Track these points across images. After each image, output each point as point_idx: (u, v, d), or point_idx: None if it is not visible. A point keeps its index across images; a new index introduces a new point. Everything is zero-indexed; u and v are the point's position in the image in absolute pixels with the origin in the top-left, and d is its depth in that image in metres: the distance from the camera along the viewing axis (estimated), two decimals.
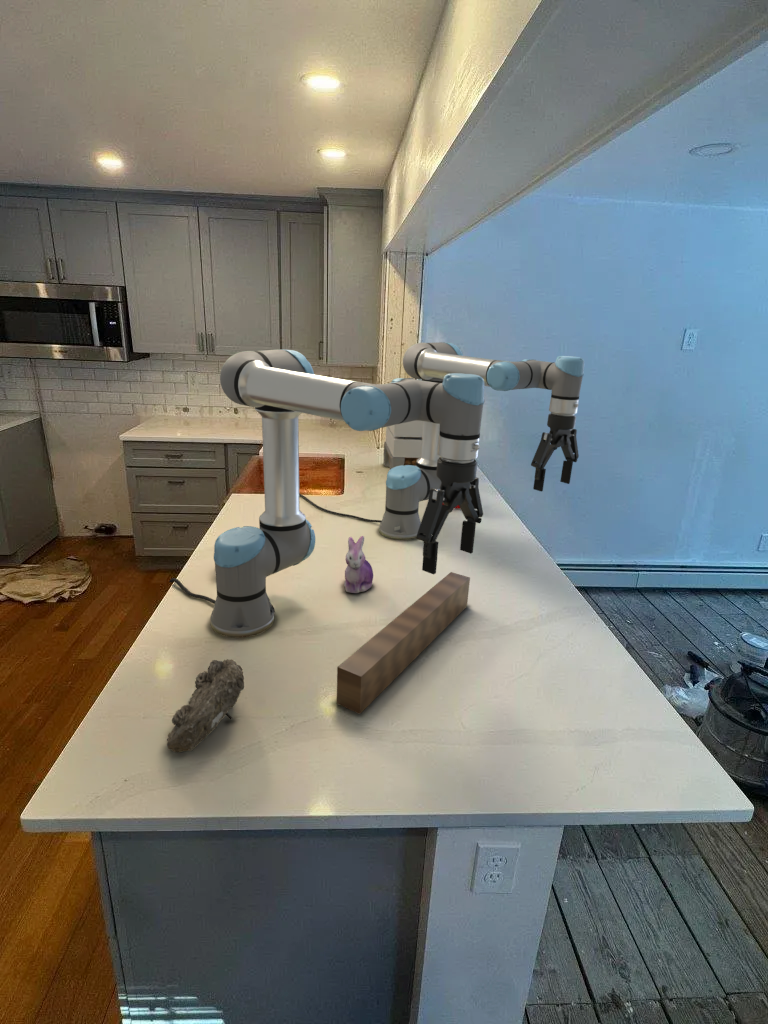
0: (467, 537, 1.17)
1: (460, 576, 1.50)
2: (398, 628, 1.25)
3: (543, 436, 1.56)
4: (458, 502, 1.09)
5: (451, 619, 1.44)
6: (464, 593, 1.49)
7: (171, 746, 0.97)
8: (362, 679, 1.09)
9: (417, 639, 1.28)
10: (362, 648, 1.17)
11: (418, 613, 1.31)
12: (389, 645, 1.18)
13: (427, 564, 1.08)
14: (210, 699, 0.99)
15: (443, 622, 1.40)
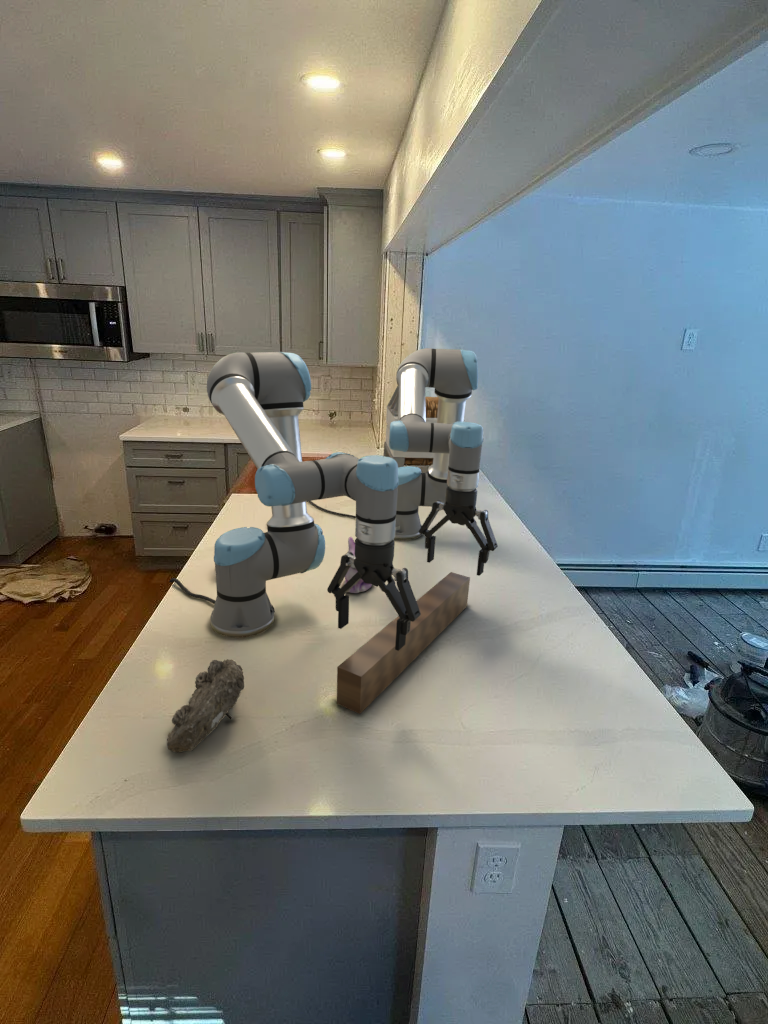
0: None
1: (460, 576, 1.50)
2: None
3: None
4: (369, 581, 1.09)
5: (451, 619, 1.44)
6: (464, 593, 1.49)
7: (171, 746, 0.97)
8: (362, 679, 1.09)
9: (417, 639, 1.28)
10: (362, 648, 1.17)
11: None
12: (389, 645, 1.18)
13: None
14: (210, 699, 0.99)
15: (443, 622, 1.40)
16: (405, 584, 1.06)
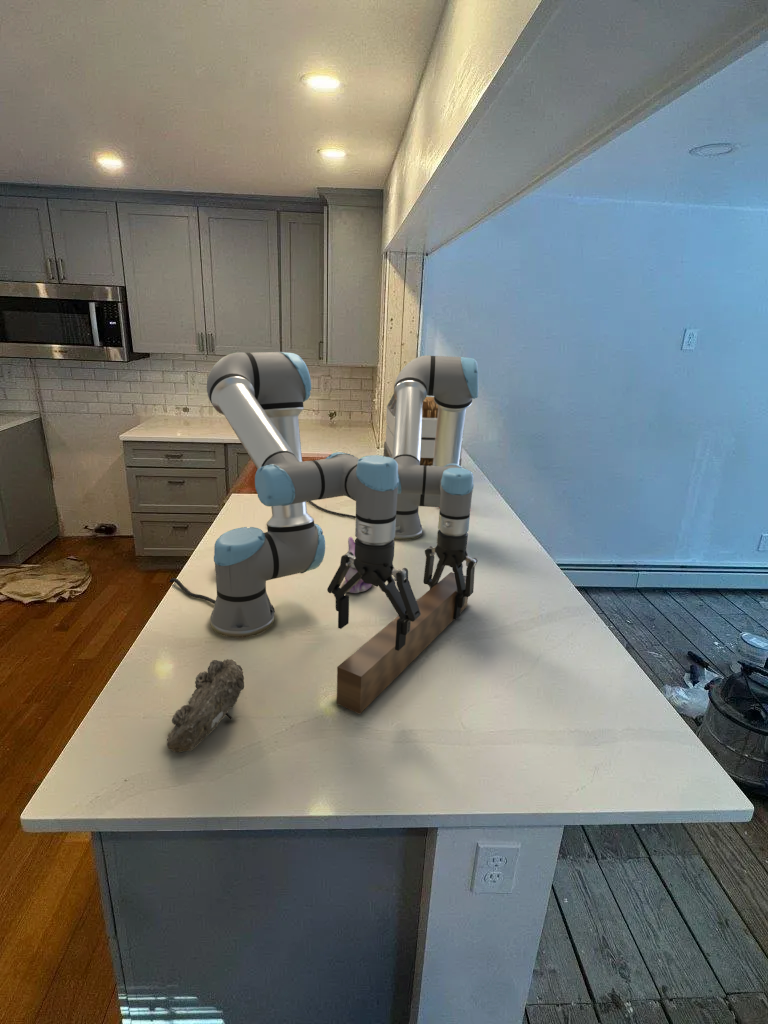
0: None
1: None
2: None
3: None
4: (369, 581, 1.09)
5: (451, 619, 1.44)
6: None
7: (171, 746, 0.97)
8: (362, 679, 1.09)
9: (417, 639, 1.28)
10: (362, 648, 1.17)
11: None
12: (389, 645, 1.18)
13: None
14: (210, 699, 0.99)
15: (443, 622, 1.40)
16: (405, 584, 1.06)
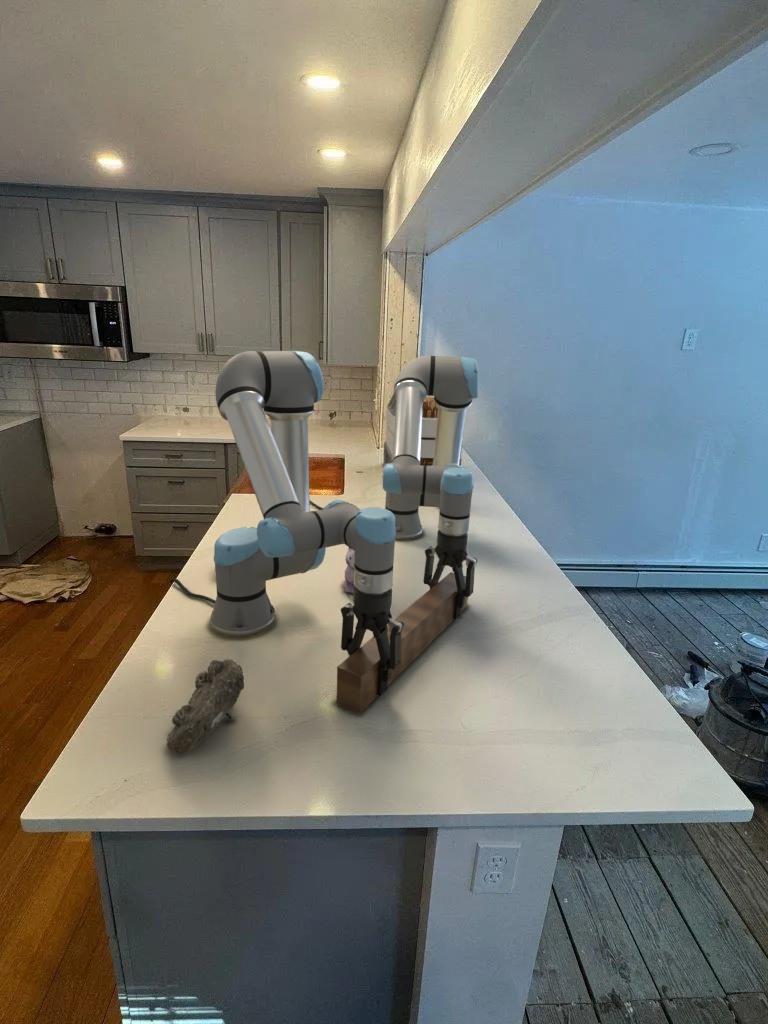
0: None
1: None
2: None
3: None
4: (368, 627, 1.12)
5: (451, 619, 1.44)
6: None
7: (171, 746, 0.97)
8: (362, 679, 1.09)
9: (417, 639, 1.28)
10: (362, 648, 1.17)
11: (418, 613, 1.31)
12: None
13: None
14: (210, 699, 0.99)
15: (443, 622, 1.40)
16: (397, 637, 1.10)
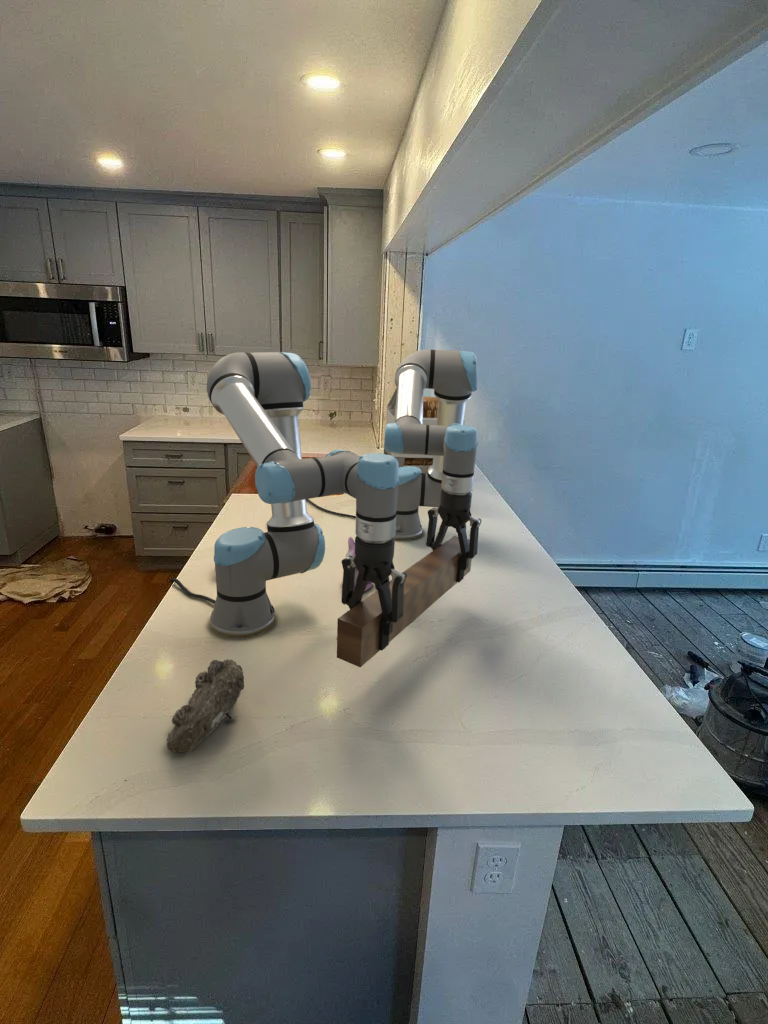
0: None
1: None
2: None
3: None
4: (369, 578, 1.09)
5: (454, 582, 1.41)
6: None
7: (171, 746, 0.97)
8: (363, 630, 1.05)
9: (419, 597, 1.24)
10: (363, 602, 1.13)
11: (421, 571, 1.28)
12: None
13: None
14: (210, 699, 0.99)
15: (446, 584, 1.37)
16: (400, 588, 1.07)
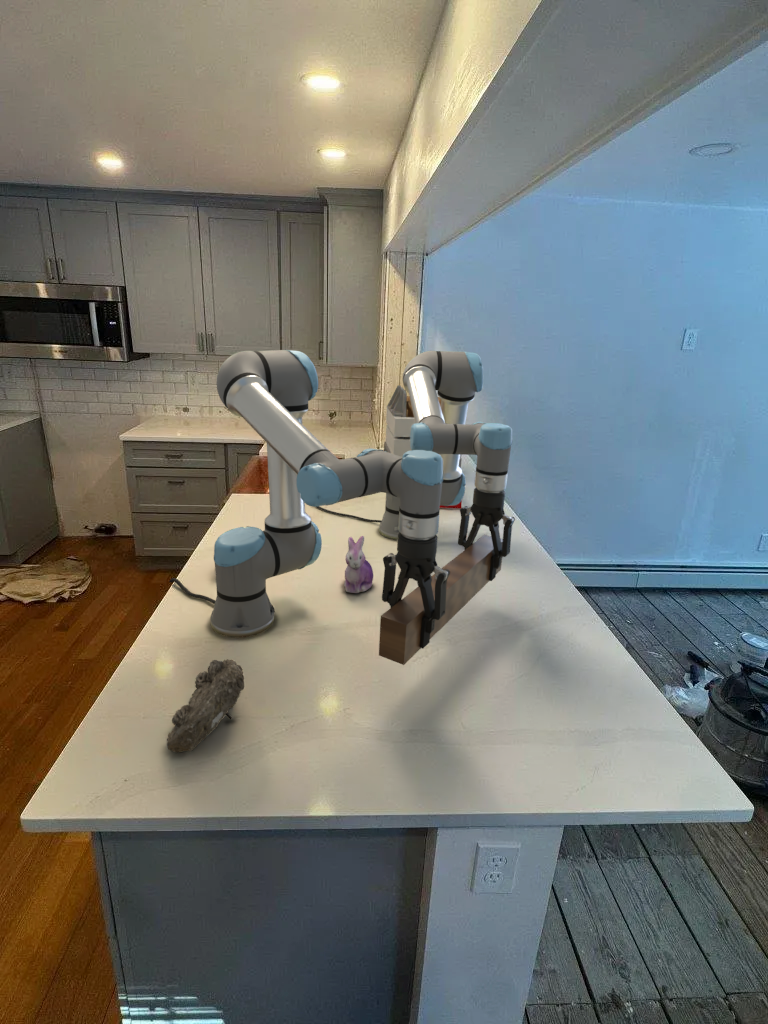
0: None
1: None
2: None
3: None
4: (411, 576, 1.09)
5: (487, 580, 1.41)
6: None
7: (171, 746, 0.97)
8: (407, 628, 1.05)
9: (456, 595, 1.24)
10: (404, 600, 1.13)
11: (457, 570, 1.28)
12: None
13: None
14: (210, 699, 0.99)
15: (480, 582, 1.37)
16: (443, 585, 1.06)
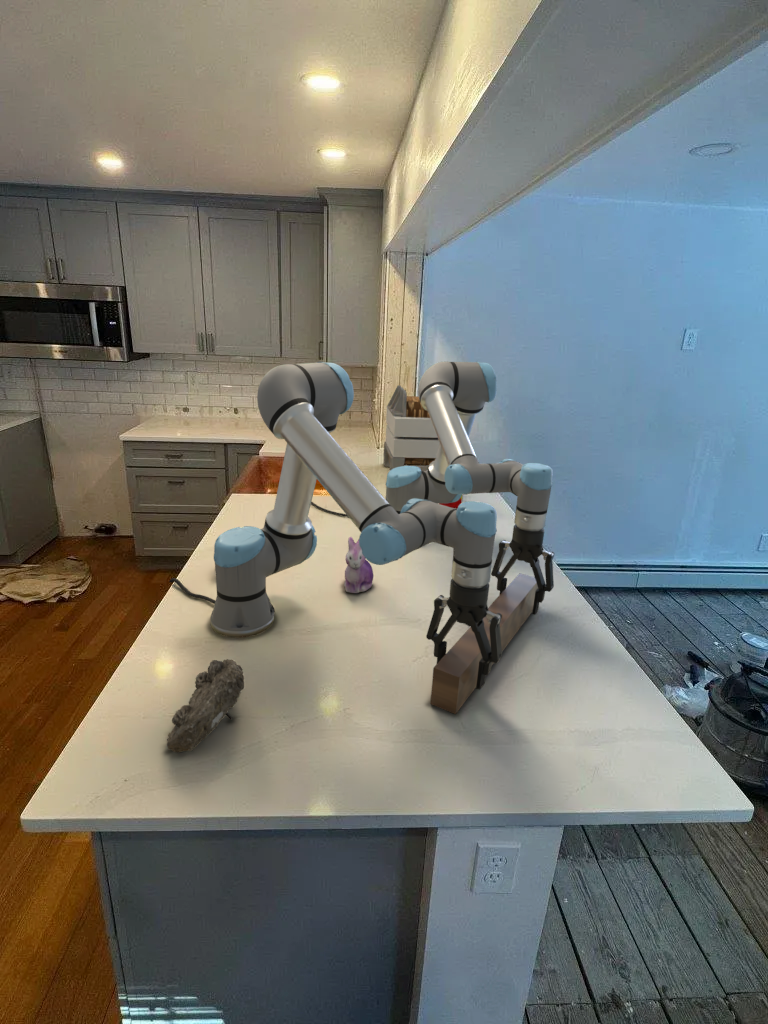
0: None
1: (530, 577, 1.51)
2: None
3: None
4: (463, 620, 1.13)
5: (524, 620, 1.46)
6: (534, 594, 1.50)
7: (171, 746, 0.97)
8: (460, 680, 1.10)
9: None
10: (453, 649, 1.18)
11: None
12: None
13: None
14: (210, 699, 0.99)
15: (518, 623, 1.41)
16: (497, 629, 1.10)
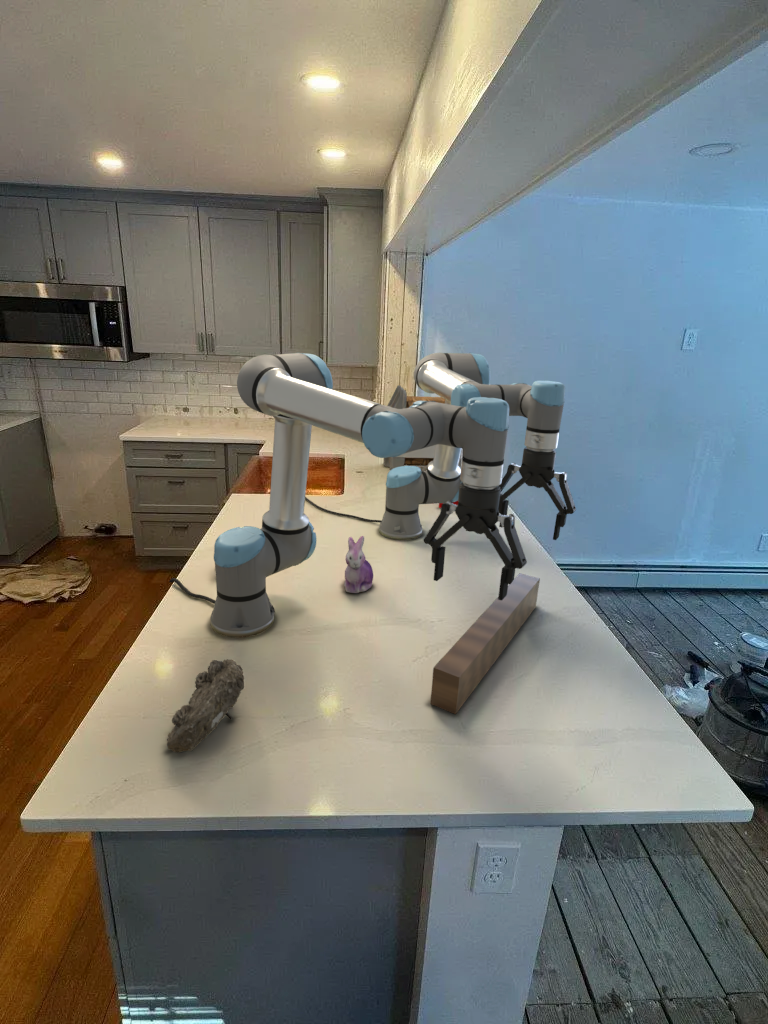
0: None
1: (530, 577, 1.51)
2: (483, 629, 1.26)
3: None
4: (473, 528, 1.06)
5: (524, 620, 1.46)
6: (534, 594, 1.50)
7: (171, 746, 0.97)
8: (460, 680, 1.10)
9: (499, 640, 1.29)
10: (453, 649, 1.18)
11: (499, 614, 1.32)
12: (479, 646, 1.19)
13: None
14: (210, 699, 0.99)
15: (518, 623, 1.41)
16: (512, 530, 1.03)
